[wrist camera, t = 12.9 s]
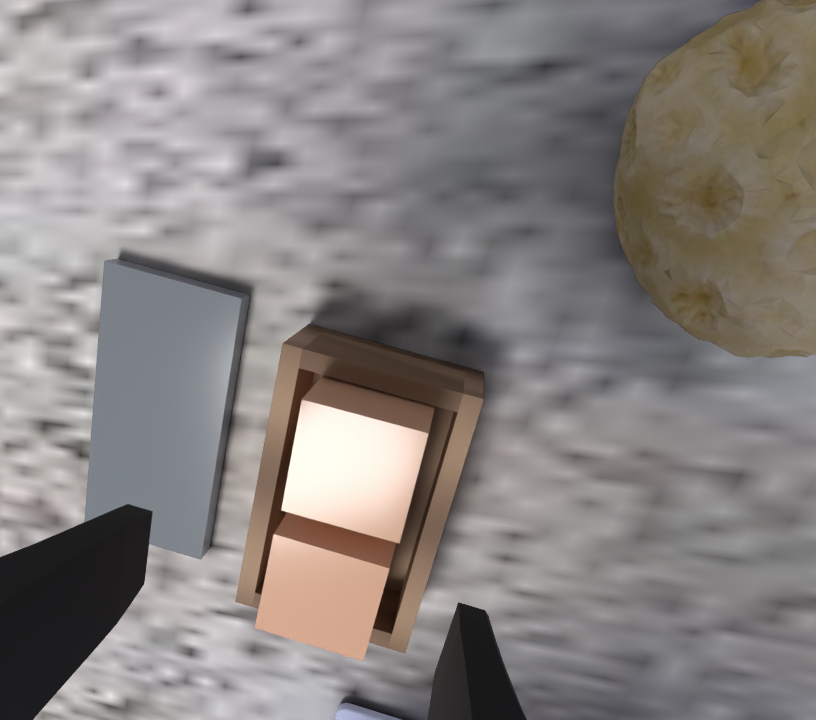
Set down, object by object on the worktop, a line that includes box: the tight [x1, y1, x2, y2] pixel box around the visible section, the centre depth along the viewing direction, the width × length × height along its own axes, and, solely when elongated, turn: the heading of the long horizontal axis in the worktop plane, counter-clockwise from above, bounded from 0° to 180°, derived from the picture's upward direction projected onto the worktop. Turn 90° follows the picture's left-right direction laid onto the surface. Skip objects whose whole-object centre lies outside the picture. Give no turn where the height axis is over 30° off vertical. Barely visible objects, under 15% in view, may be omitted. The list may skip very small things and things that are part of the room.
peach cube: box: [255, 512, 396, 661], centre depth 21 cm, size 4×4×4 cm
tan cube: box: [281, 375, 435, 544], centre depth 20 cm, size 4×4×4 cm
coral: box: [613, 0, 816, 358], centre depth 15 cm, size 9×9×8 cm
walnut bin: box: [235, 324, 484, 653], centre depth 22 cm, size 11×7×3 cm, turn 166°
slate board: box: [85, 259, 250, 559], centre depth 23 cm, size 12×6×1 cm, turn 166°
